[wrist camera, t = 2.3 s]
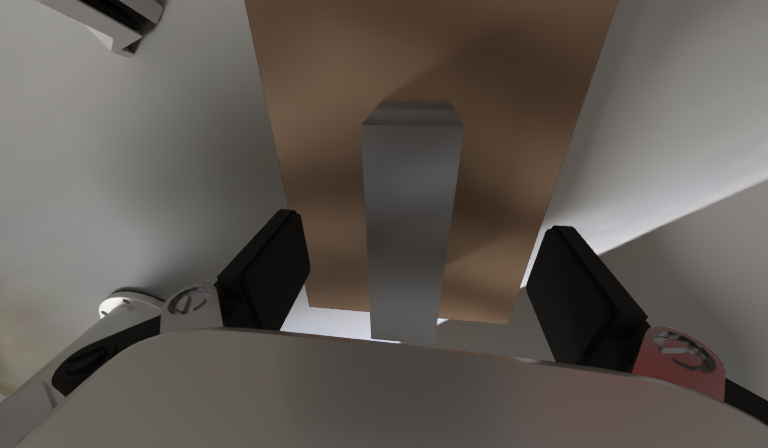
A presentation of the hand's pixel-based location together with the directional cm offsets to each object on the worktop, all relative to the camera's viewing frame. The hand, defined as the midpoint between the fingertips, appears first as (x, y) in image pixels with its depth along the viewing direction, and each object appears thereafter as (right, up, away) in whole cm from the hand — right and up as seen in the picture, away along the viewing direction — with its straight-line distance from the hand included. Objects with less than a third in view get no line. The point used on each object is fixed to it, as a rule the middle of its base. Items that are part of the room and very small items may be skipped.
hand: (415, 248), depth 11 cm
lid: (0, +3, +5) cm, 6 cm away
